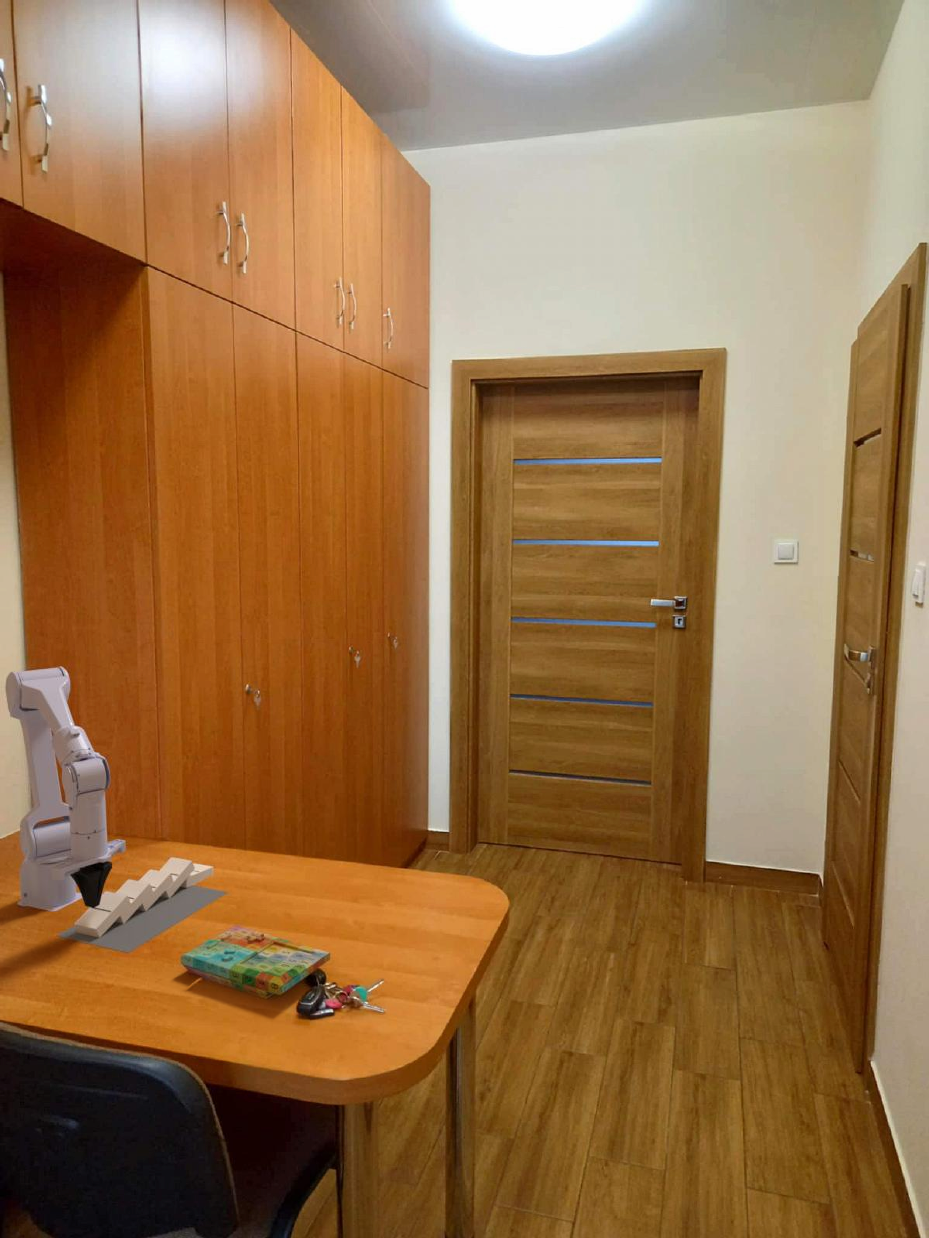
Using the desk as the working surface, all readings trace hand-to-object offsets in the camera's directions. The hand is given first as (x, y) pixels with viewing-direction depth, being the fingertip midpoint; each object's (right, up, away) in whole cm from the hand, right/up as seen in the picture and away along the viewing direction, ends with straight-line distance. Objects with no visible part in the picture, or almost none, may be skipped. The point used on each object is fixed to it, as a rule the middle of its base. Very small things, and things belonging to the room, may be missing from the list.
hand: (92, 905), depth 152 cm
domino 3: (+4, -3, +9) cm, 10 cm away
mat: (+6, -5, +8) cm, 11 cm away
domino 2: (+2, -3, +4) cm, 6 cm away
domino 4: (+6, -2, +15) cm, 16 cm away
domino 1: (-1, -4, -1) cm, 4 cm away
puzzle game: (+31, -7, -13) cm, 35 cm away
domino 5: (+8, -2, +20) cm, 21 cm away
